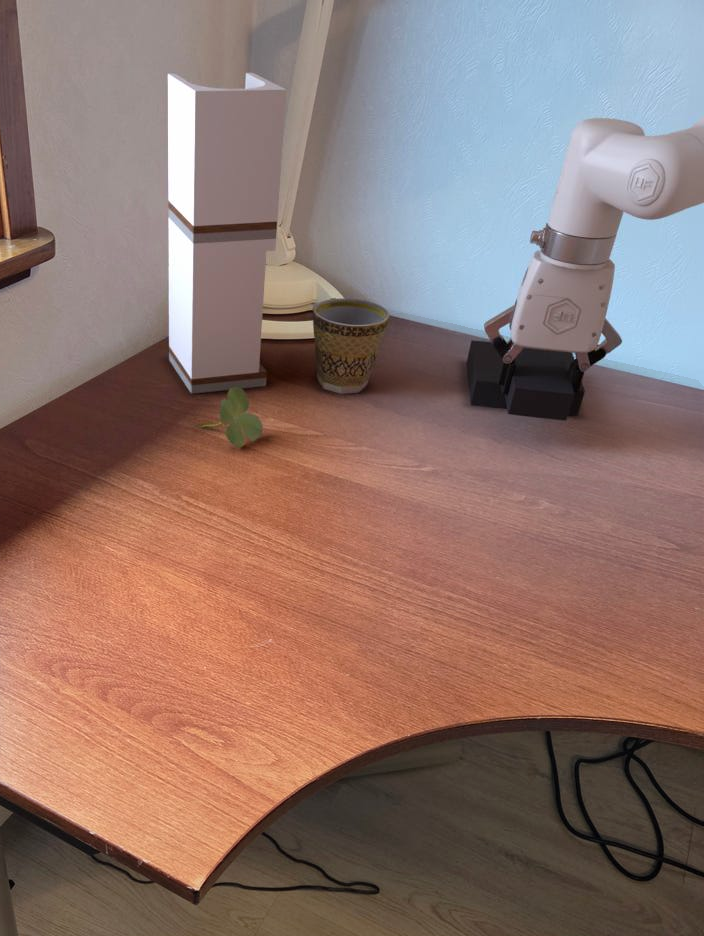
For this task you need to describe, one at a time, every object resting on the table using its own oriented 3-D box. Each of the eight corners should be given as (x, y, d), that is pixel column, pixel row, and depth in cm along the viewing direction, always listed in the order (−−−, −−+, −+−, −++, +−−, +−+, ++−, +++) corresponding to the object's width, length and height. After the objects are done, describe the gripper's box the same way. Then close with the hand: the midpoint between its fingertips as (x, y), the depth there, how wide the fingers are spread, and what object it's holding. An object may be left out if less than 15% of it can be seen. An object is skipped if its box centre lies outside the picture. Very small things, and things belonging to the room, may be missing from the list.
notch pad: (564, 373, 129) (571, 349, 127) (577, 416, 119) (585, 391, 117) (466, 363, 131) (471, 340, 129) (470, 405, 120) (476, 380, 118)
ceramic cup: (389, 396, 121) (400, 323, 115) (318, 401, 119) (326, 327, 113) (356, 358, 131) (365, 288, 125) (291, 362, 129) (297, 292, 123)
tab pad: (554, 375, 119) (561, 350, 117) (566, 421, 109) (574, 394, 107) (500, 369, 120) (507, 344, 118) (507, 414, 110) (515, 387, 108)
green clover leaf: (222, 467, 115) (261, 456, 111) (178, 444, 110) (217, 431, 105) (228, 416, 117) (266, 403, 112) (184, 390, 111) (222, 375, 107)
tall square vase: (265, 385, 123) (286, 89, 100) (191, 393, 120) (195, 91, 97) (239, 353, 131) (252, 72, 108) (169, 360, 128) (167, 73, 106)
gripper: (501, 248, 99) (466, 398, 111) (663, 264, 97) (610, 414, 109) (496, 229, 105) (464, 373, 116) (650, 243, 103) (601, 388, 115)
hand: (535, 392), depth 113 cm, fingers closed on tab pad, 7 cm apart
